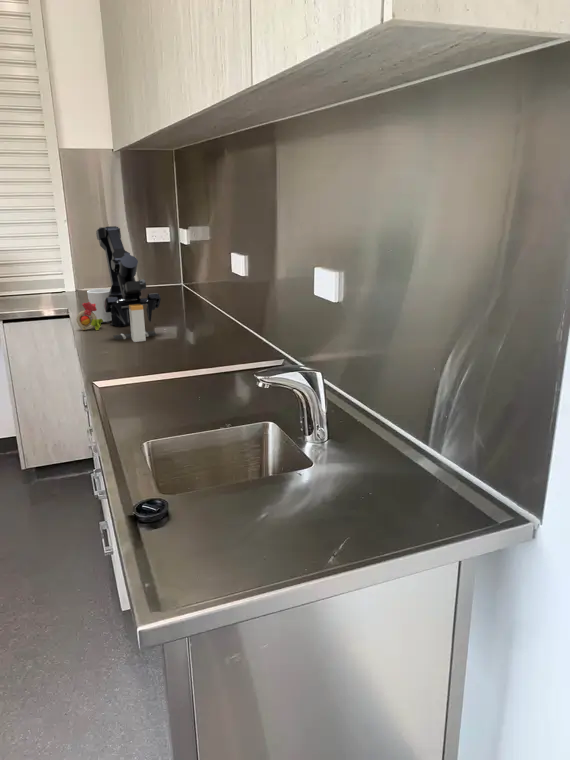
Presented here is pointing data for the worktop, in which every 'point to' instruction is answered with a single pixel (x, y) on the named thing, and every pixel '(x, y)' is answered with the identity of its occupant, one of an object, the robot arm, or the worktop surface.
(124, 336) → the cord bundle
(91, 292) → the cup
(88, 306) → the bird rattle
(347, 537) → the worktop surface
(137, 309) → the orange-topped grey block
